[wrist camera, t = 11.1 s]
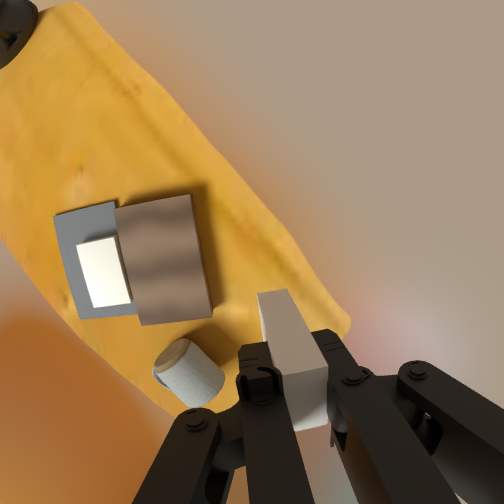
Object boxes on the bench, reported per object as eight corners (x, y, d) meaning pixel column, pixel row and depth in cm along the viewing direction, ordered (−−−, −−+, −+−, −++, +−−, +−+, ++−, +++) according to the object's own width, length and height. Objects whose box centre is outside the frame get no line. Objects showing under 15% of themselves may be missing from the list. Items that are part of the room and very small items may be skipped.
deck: (120, 207, 36) (113, 209, 34) (192, 193, 36) (189, 194, 34) (145, 317, 40) (141, 325, 37) (212, 309, 40) (212, 317, 38)
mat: (55, 215, 35) (52, 216, 35) (115, 200, 36) (113, 201, 35) (81, 317, 39) (80, 319, 38) (140, 311, 40) (139, 313, 39)
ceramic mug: (190, 326, 41) (183, 356, 33) (226, 363, 43) (226, 395, 35) (142, 360, 42) (129, 390, 34) (177, 392, 44) (170, 424, 36)
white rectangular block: (82, 242, 36) (76, 245, 34) (118, 234, 36) (113, 237, 34) (99, 302, 38) (93, 307, 36) (134, 297, 38) (130, 302, 36)
